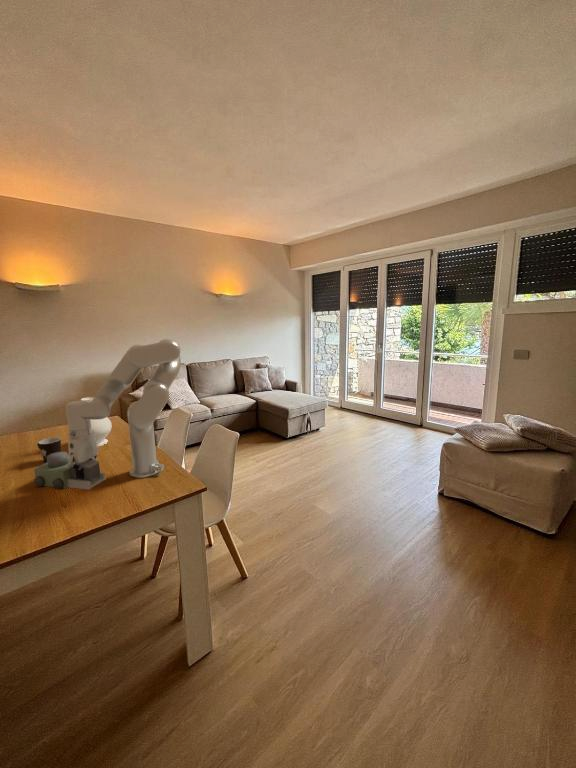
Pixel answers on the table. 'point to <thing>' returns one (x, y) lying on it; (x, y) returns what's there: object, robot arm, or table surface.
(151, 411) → the robot arm
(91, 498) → the table surface
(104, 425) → the decorative vase
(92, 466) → the gray rectangular block
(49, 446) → the coffee mug
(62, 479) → the green toy tractor
